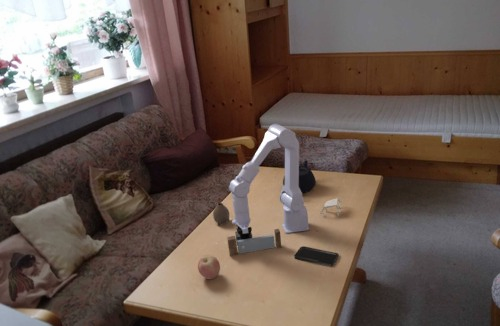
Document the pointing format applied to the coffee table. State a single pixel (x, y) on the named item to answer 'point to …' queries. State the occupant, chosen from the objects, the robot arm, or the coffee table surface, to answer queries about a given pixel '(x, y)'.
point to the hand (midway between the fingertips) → (244, 240)
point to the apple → (209, 267)
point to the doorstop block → (240, 237)
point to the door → (255, 244)
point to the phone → (316, 256)
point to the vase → (221, 214)
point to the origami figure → (331, 205)
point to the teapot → (305, 178)
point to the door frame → (233, 245)
